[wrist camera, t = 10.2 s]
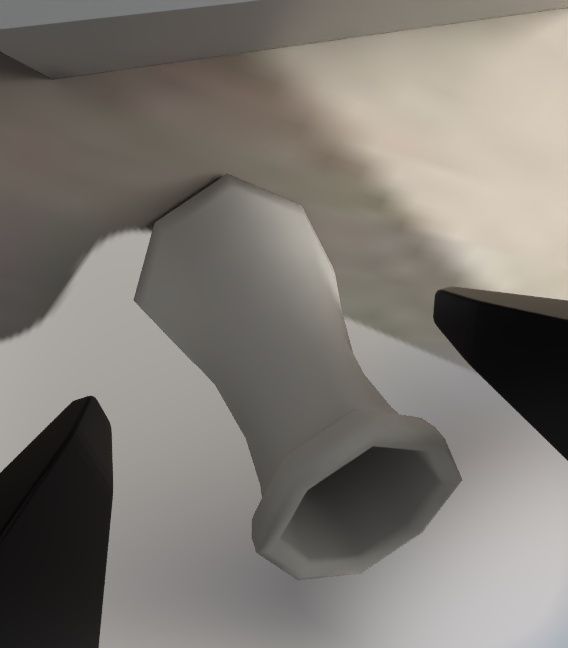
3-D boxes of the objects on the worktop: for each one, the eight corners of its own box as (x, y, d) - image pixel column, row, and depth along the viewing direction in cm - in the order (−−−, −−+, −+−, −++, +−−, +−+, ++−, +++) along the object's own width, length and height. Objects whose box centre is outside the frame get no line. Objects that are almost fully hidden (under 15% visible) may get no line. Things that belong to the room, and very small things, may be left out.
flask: (95, 302, 12) (-40, 660, 4) (220, 129, 11) (414, 107, 3) (251, 384, 16) (352, 658, 8) (358, 261, 15) (620, 426, 6)
